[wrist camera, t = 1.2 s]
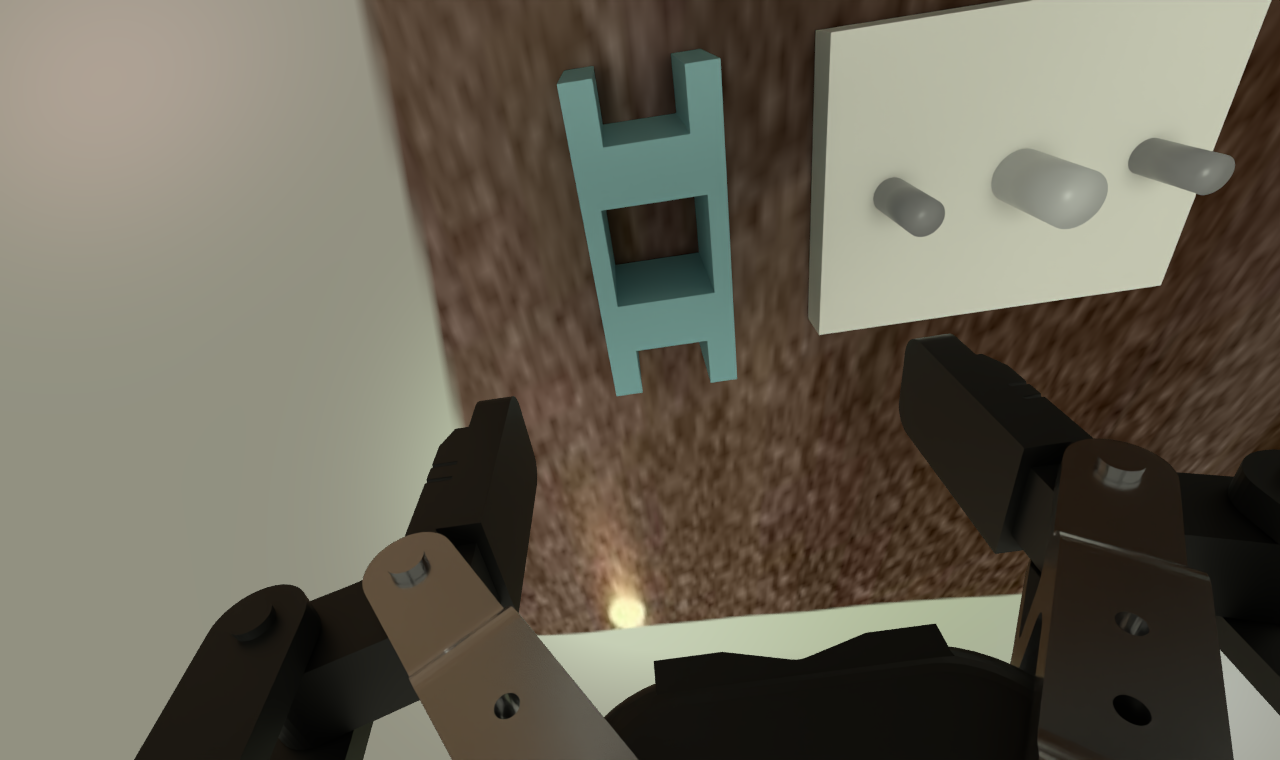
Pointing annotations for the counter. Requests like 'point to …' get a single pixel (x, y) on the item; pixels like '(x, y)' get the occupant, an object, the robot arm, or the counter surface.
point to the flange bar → (647, 173)
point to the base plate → (1013, 151)
